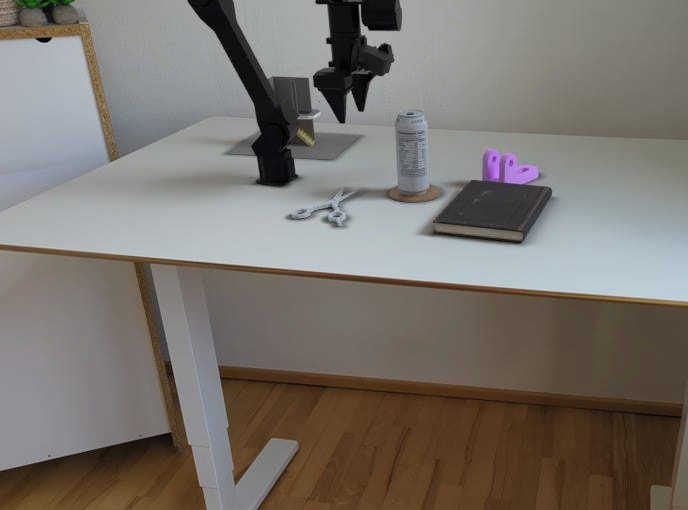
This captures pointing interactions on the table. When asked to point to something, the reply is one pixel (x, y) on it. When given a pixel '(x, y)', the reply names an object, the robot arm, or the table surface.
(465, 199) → the hardcover book
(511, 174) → the bracket
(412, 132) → the energy drink can
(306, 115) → the architectural model
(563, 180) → the table surface
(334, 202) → the scissors
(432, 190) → the coaster
